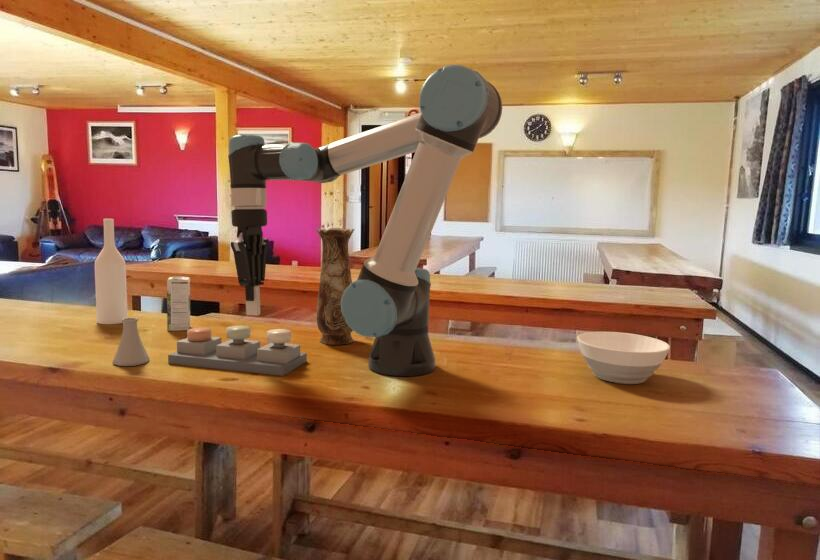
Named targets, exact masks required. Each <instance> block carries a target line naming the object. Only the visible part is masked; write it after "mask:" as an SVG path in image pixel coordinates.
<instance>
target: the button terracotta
mask: <svg viewBox="0 0 820 560" xmlns="http://www.w3.org/2000/svg"><path fill="white" fill-rule="evenodd" d="M186 334H187V337H186V338H187V339H188V340H189V341H199V342H202V341H206V340H210V339H211V337H212V328H210V327H194V328H189V330H186Z"/></svg>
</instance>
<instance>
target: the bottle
mask: <svg viewBox="0 0 820 560" xmlns="http://www.w3.org/2000/svg"><path fill="white" fill-rule="evenodd" d="M115 242H116V241H115V220H114V218H103V248H102V249H101V250H100V252H99V254H98V255H97V257H96V259H95V260H94V287H95V288H94V289H95V307H96V308H95V313H96V323H97V324H98V325H119V324H123V322H122V321H121V320H122V319H124V318H129V317H128V316H129V315H128V293H127V292H128V291H127V288H128V287H127V286H128V285H127V265H126V261H125V258H124V257H123V255H122V254H121V253H120V251H119V250H118V248H117V247H116V243H115Z"/></svg>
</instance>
